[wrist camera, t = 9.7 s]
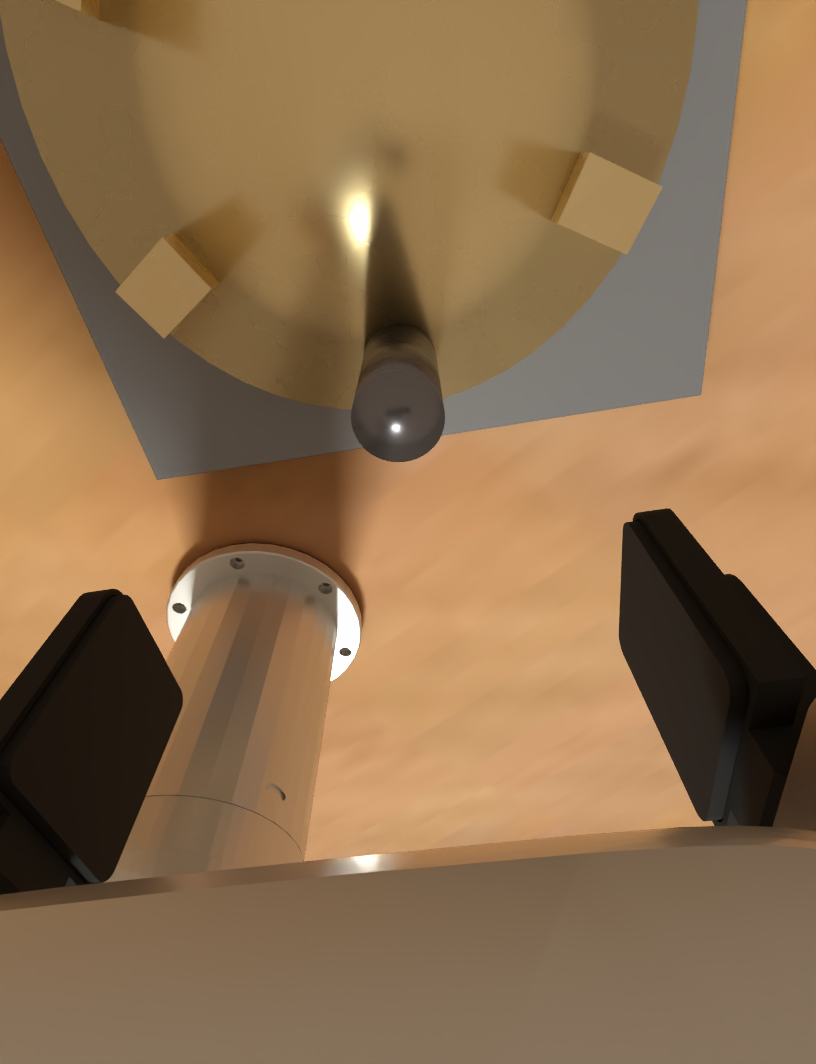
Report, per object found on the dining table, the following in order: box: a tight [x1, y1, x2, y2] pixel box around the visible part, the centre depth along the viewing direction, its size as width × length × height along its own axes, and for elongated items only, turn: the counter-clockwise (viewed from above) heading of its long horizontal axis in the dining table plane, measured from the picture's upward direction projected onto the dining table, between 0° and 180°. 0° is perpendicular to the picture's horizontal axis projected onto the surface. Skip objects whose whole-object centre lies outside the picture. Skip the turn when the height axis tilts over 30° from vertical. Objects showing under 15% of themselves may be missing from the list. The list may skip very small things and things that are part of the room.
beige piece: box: [0, 0, 698, 462], centre depth 17 cm, size 22×22×9 cm
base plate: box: [0, 0, 747, 480], centre depth 22 cm, size 28×28×2 cm
